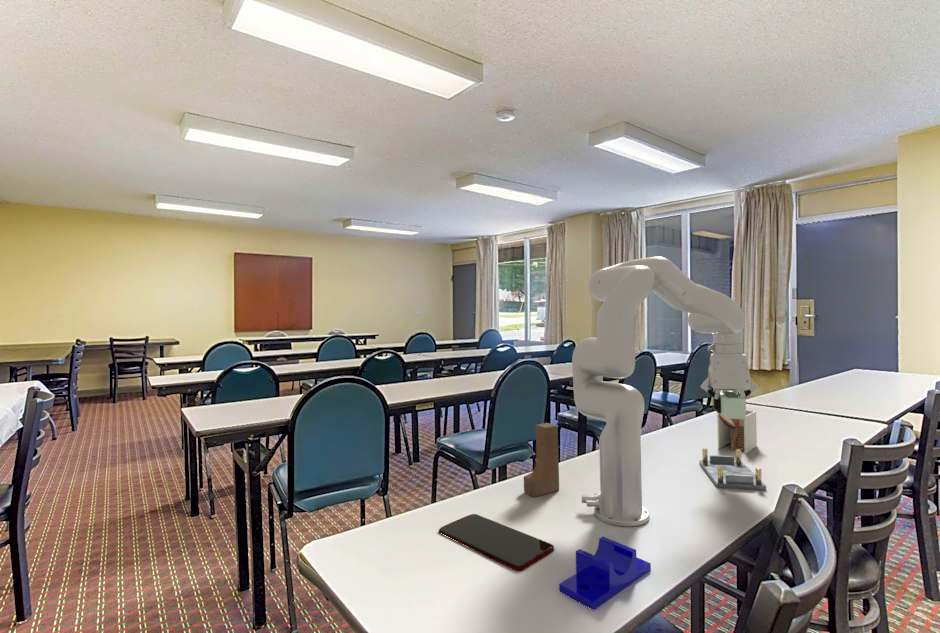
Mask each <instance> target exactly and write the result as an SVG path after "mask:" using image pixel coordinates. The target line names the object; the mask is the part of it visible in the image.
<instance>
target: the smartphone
mask: <svg viewBox="0 0 940 633" xmlns="http://www.w3.org/2000/svg"><path fill="white" fill-rule="evenodd" d="M438 532H439V533H442V534H444V535H446V536H448V537H450V538H452V539H454V540H456V541H458V542H460V543H462V544H464V545H466V546H468V547H470V548H472V549H474V550H475V552H476V551H477V552H476V553H478V552H479V554H480V553H482V554H483V555H482V554H481V555H482V556H484V555H485V557H487V558H489V559H491V560H493V561H495V562H498V563H499V564H501V565H503V566H505V567H507V568H509V569H511V568H512V570H514V571H516V572H522V571H524V570H526V569H527V568H529V567H531V566H532V565H533V564H536V563H537V562H538V560H539V561H540V560H542V559H543V558H545V557H547V556H548V555H550V554H551V553H553V552H554V551H555V545H553V544H552V543H550V542H547V541H545V540H542V539H540V538H538V537H534V536H532V535H529V534H527V533H525V532H522V531H519V530H517V529H514V528H512V527H510V526H507V525H505V524H502V523H500V522H497V521H494V520H492V519H489V518H487V517H484V516H482V515H480V514H477V513H471V514H468V515H465V516H463V517H461V518H459V519H457V520H455V521H451V522H449V523H448V524H445V525H443V526H441V527H440V528H439V529H438ZM439 533H438V534H439ZM450 538H449V539H450ZM452 539H451V540H452ZM454 540H453V541H454ZM456 541H455V542H456ZM458 542H457V543H458ZM460 543H459V544H460ZM462 544H461V545H462ZM464 545H463V546H464ZM466 546H465V547H466ZM468 547H467V548H468ZM470 548H469V549H470ZM472 549H471V550H472ZM474 550H473V551H474ZM530 565H531V566H530Z"/></svg>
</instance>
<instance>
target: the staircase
mask: <svg viewBox="0 0 940 633" xmlns="http://www.w3.org/2000/svg"><path fill="white" fill-rule="evenodd" d="M716 413H717V412H716ZM716 416H717V417H716V418H717V421H716V422H717V449H721V448H723V447H724V446H726V445H728V444H729V442H730V447H731V448H730V449H731V451H733V452H736V450H737V449H738V450H741V454H742V453H744V454H747V453H749V452H750V451H752V450H753V449H755V448H756V447H757V446H758V443H757V442H758V441H757V439H758V436H757V435H758V434H757V433H758V432H757V411H756V410H748V409H746V419H726V418H725V417H723V416H722V415H721V414H720V413H717V415H716Z"/></svg>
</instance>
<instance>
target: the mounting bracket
mask: <svg viewBox="0 0 940 633" xmlns="http://www.w3.org/2000/svg"><path fill="white" fill-rule="evenodd" d="M651 566H652V565H651V562H648V561H647V560H644V559H642V558H639V557H637V549H635V548H633V547H630V546H627V545H625V544H622V543H620V542H617V541H616V540H613V539H610V538H608V537H605V536H601V537H599V539H598V546H597V549H596V551H595V554H592V553H590V552H588V551H585V550H583V549H581V548H579V549H577V550H576V551H575V572H576V573H575V574H573V575H572V576H570V577H568V578H566V579H565V580H563V581H562V582H560V583H558V584H559V585H558V586H559V590H558V591H560V593H561V592H562V593H561V594H563V593H564V594H565V595H564V594H563V595H564V596H566V595H567V596H566V597H568V596H569V597H568V598H570V599H572V600H573V599H574V600H573V601H575V600H576V601H575V602H577V603H579V602H580V603H581V605H582V604H583V606H584V605H585V607H586V606H587V607H586V608H588V607H589V608H591V609H593V610H592V611H595V610H597V607H598V608H599V607H601V606H602V605H604V604H605V603H606V602H608V601H609V600H611V599H613V596H614V597H615V596H616V595H618V594H619V593H621V592H622V591H624V590H625V589H626V588H628V587H630V586H631V585H632V584H634V583H635V582H636V581H638V580H639V579H641V578H642V577H643V576H645V575H647V574H648V573H649V572H650V571H652V567H651ZM580 603H579V604H580ZM600 605H601V606H600ZM589 608H588V609H589ZM591 609H590V610H591ZM594 609H595V610H594Z"/></svg>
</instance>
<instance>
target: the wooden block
mask: <svg viewBox="0 0 940 633" xmlns="http://www.w3.org/2000/svg"><path fill="white" fill-rule="evenodd" d="M558 427H559V426H558V425H556V424H553V423H549V422H543V423H540V424H535V449H536V454H535V456H536V462H535V467H534V468H533V470H532V472H531V473H528V474H526V475H524V476H523V493H525V494H527V495H529V496H531V497H532V498H536V497H539V496H543V495H547V494H551V493H554V492H559V491H560V467H559V463H560V462H559V432H558V431H559V429H558Z"/></svg>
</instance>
